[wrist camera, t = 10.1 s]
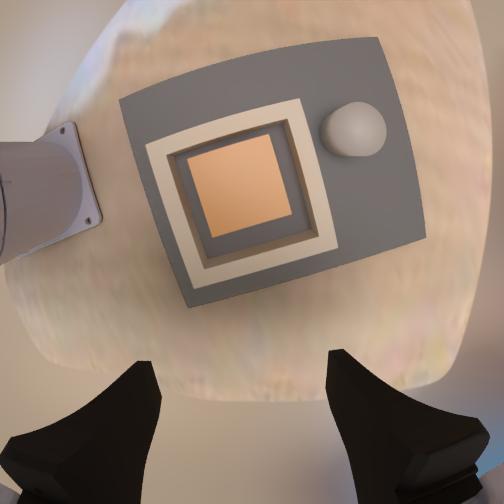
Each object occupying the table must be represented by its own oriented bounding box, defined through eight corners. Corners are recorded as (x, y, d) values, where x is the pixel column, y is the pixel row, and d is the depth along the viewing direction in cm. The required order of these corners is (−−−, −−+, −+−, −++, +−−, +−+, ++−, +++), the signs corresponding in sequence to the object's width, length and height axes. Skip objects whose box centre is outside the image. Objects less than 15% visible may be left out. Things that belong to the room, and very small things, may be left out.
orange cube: (219, 220, 19) (212, 237, 15) (199, 159, 18) (186, 159, 14) (280, 202, 19) (291, 214, 15) (262, 140, 18) (268, 133, 14)
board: (190, 302, 22) (179, 334, 18) (124, 102, 18) (95, 89, 13) (419, 234, 21) (453, 251, 17) (372, 41, 17) (399, 19, 12)
